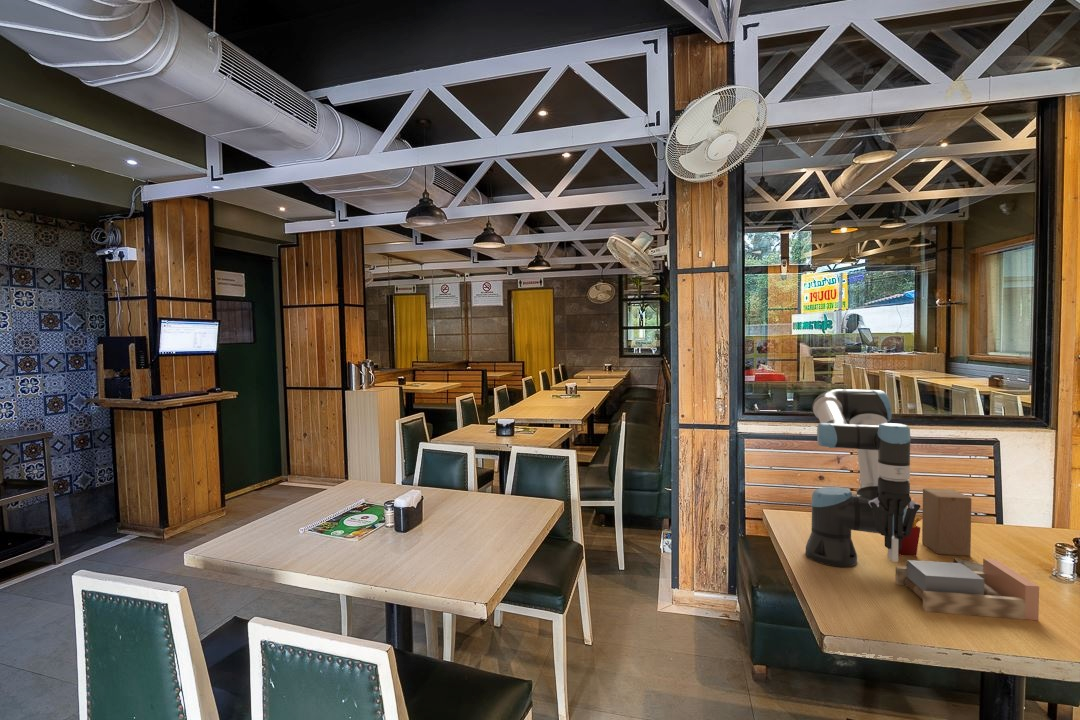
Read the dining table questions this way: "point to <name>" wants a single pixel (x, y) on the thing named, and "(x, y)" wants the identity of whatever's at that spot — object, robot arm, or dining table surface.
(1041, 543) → the dining table surface
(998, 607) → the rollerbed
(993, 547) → the dining table surface
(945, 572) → the slab
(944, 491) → the wooden block
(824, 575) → the dining table surface
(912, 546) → the french fries
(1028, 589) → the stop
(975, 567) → the stone
